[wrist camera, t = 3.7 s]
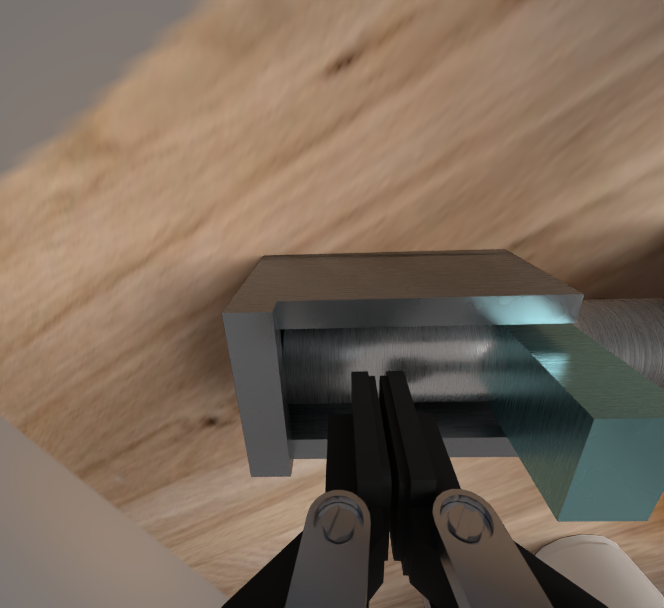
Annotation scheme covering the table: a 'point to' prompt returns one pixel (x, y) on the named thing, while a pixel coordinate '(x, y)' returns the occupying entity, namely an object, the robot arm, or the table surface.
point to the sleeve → (374, 311)
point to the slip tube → (527, 393)
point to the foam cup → (601, 571)
